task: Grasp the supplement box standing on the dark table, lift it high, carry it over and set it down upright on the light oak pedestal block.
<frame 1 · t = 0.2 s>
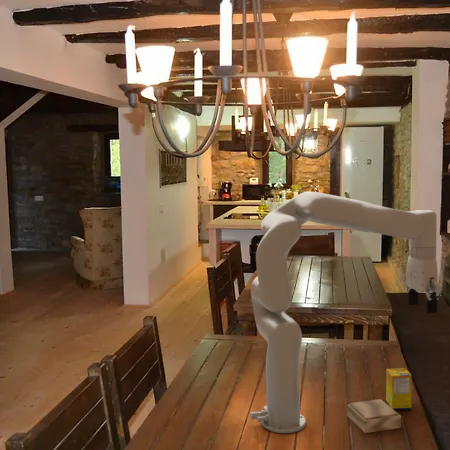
hand: (422, 308, 167), 30 cm above the table, fingers open, 9 cm apart
pedestal: (373, 421, 160), on the table
supplement box: (398, 407, 169), on the table
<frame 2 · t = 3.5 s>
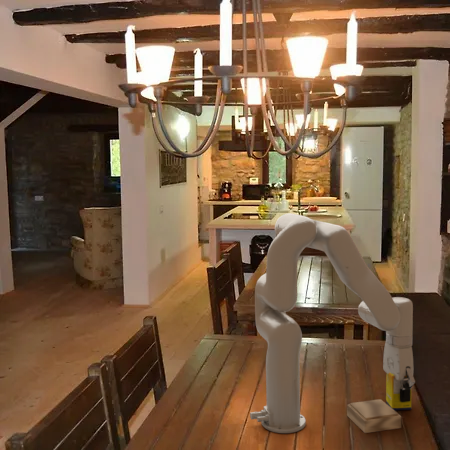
hand: (398, 396, 169), 3 cm above the table, fingers closed on supplement box, 6 cm apart
supplement box: (398, 406, 169), on the table, touching gripper
when the fingers open (9 cm above the table, at t = 10.1 s): supplement box drops 1 cm, resting on pedestal.
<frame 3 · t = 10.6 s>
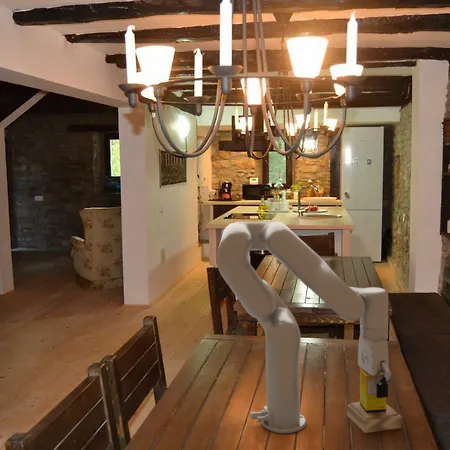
hand: (373, 390, 159), 9 cm above the table, fingers open, 9 cm apart
supplement box: (372, 408, 160), point 4 cm above the table, touching pedestal
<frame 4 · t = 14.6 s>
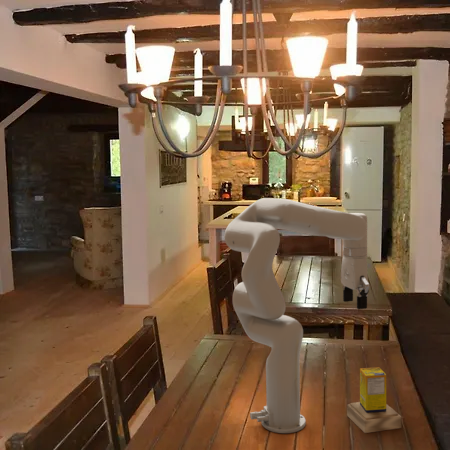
hand: (354, 304, 179), 28 cm above the table, fingers open, 9 cm apart
nothing on the table moved.
at the end: supplement box inside the target area on the pedestal (0.2 cm from its centre), point 3.8 cm above the pedestal's base; supplement box tilted 0°; the gripper is holding nothing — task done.
